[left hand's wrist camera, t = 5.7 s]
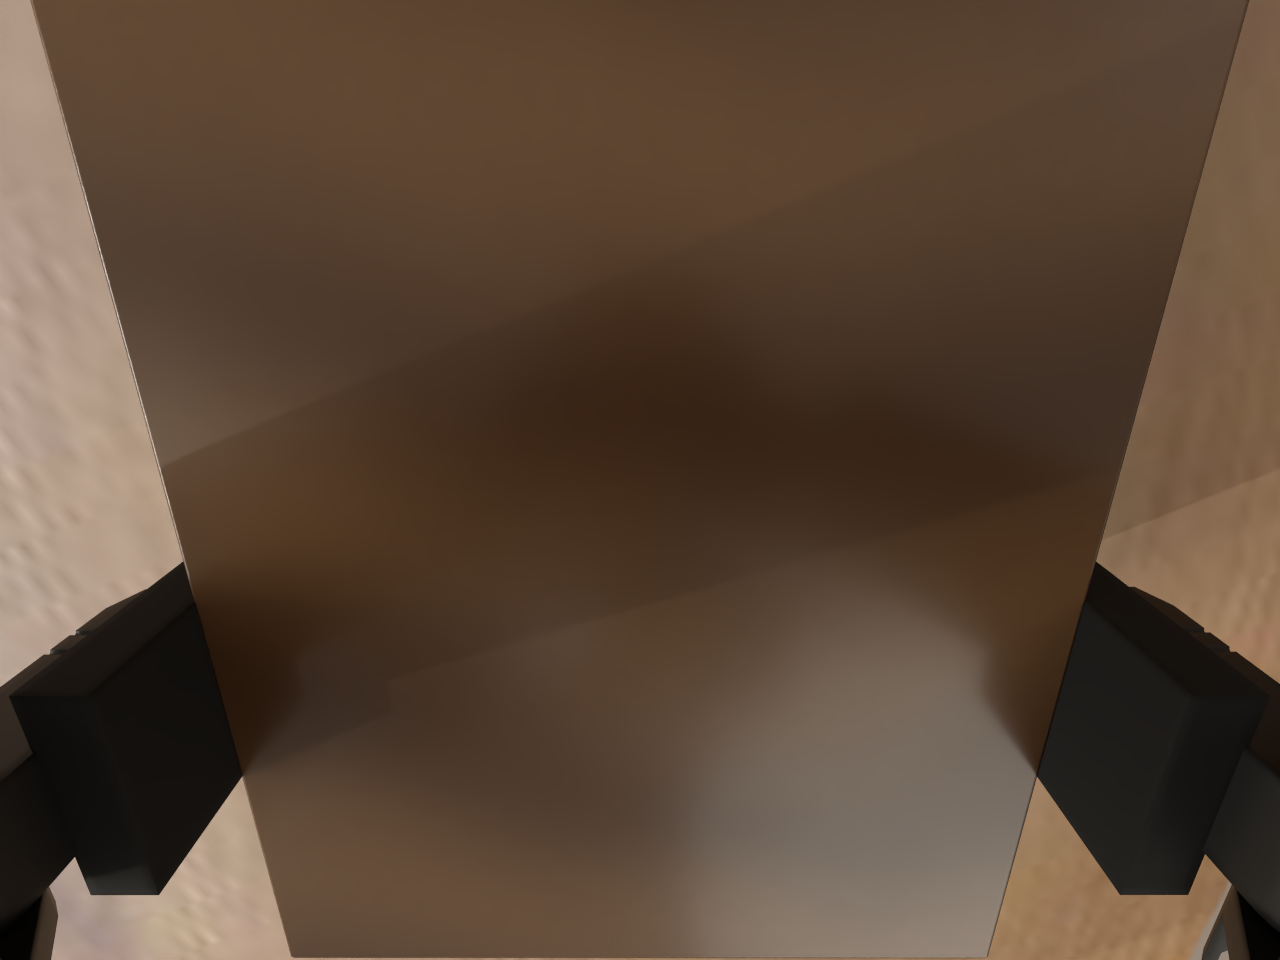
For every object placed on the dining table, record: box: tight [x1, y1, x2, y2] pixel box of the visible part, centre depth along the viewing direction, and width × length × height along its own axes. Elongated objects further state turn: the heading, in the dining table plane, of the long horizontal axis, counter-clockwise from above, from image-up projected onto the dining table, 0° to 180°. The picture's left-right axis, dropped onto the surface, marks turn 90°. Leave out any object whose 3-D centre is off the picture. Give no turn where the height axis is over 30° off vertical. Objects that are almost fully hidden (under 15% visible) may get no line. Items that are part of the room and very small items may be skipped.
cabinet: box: [31, 0, 1249, 958], centre depth 11 cm, size 19×11×8 cm, turn 0°
